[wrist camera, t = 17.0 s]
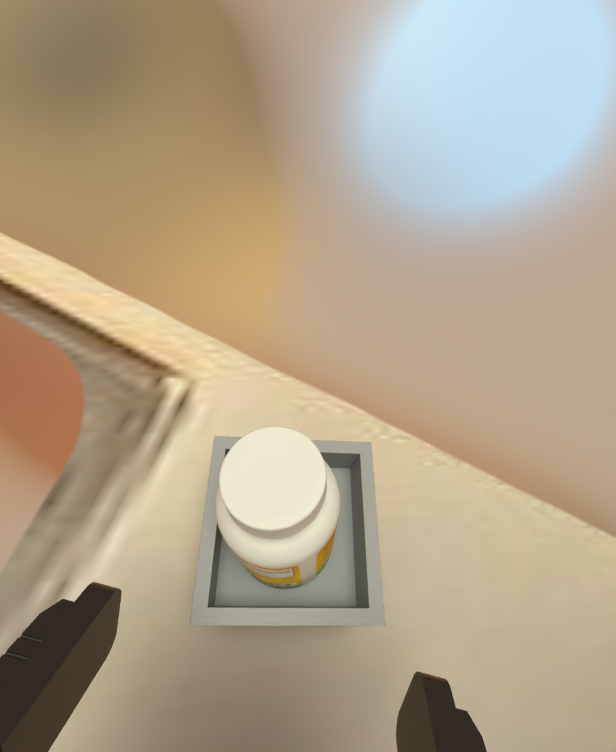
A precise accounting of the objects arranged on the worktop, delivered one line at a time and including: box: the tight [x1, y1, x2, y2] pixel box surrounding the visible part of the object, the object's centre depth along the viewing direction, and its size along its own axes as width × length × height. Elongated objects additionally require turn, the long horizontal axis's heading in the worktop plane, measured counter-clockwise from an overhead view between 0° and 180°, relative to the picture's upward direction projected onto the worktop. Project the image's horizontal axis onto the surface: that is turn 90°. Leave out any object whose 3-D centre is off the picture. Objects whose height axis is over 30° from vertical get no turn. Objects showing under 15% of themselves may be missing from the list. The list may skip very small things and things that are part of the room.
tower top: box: [190, 436, 385, 626], centre depth 22 cm, size 9×9×4 cm
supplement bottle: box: [216, 427, 340, 589], centre depth 18 cm, size 5×5×10 cm
